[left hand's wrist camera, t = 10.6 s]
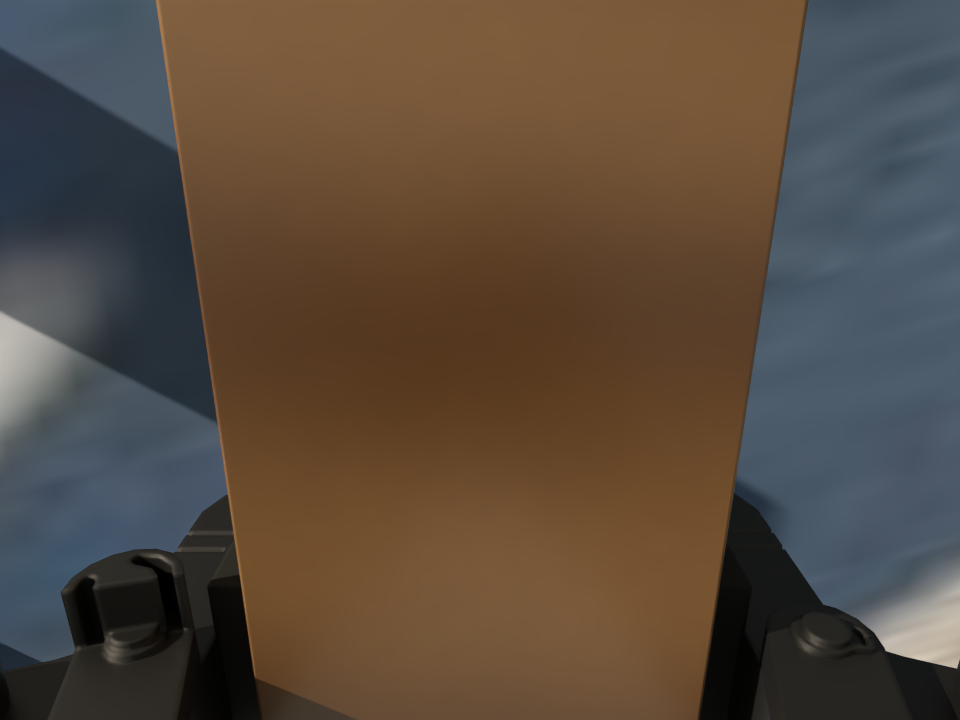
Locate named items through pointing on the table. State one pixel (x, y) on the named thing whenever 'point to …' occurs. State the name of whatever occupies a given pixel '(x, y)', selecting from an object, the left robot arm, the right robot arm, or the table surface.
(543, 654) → the beam
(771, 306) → the table surface
